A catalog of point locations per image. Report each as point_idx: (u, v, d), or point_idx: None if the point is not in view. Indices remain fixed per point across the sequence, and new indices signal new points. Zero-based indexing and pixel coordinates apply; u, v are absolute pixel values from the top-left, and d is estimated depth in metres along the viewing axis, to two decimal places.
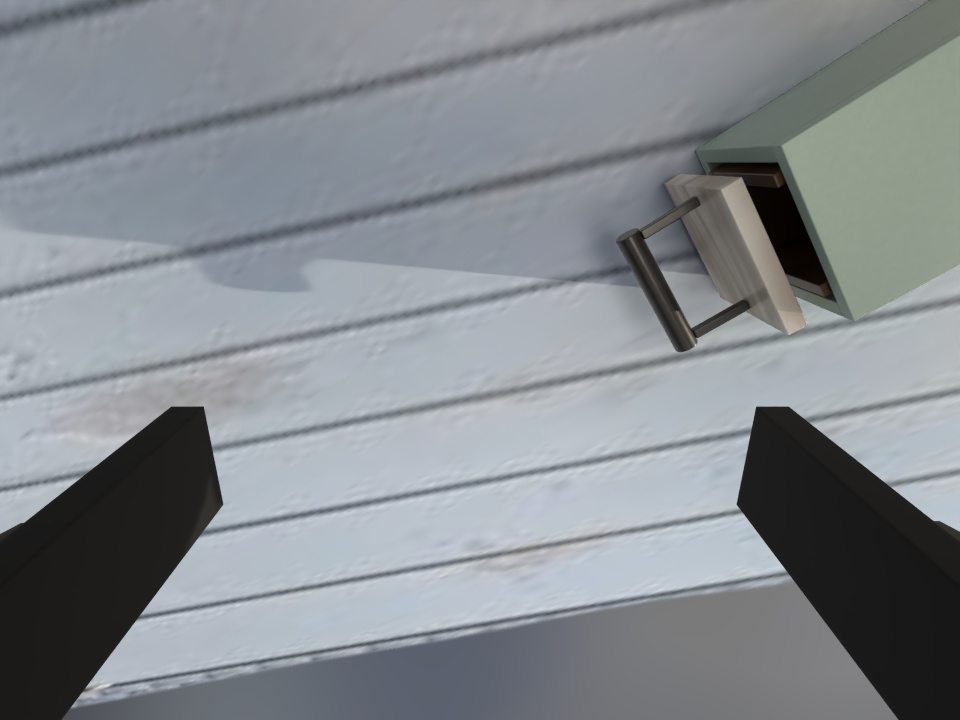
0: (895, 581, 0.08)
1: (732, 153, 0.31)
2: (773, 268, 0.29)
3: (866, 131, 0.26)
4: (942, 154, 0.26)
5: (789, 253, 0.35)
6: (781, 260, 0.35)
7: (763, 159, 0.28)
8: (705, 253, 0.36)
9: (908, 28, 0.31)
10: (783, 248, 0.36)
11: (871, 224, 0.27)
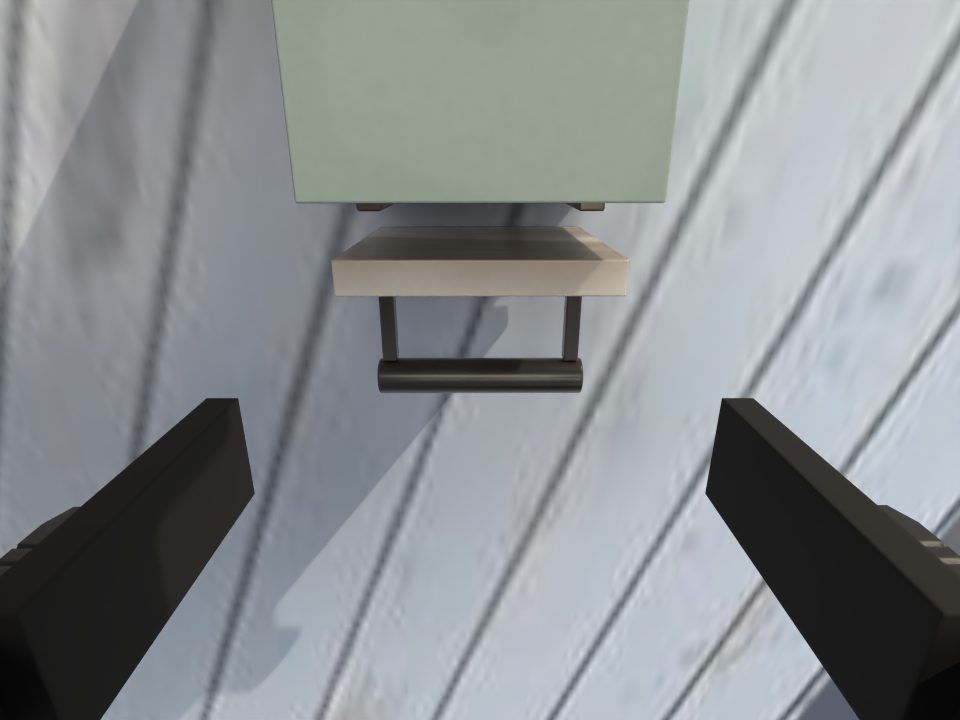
0: (837, 559, 0.09)
1: None
2: (499, 273, 0.17)
3: (341, 56, 0.14)
4: None
5: None
6: None
7: None
8: None
9: None
10: None
11: (508, 107, 0.14)
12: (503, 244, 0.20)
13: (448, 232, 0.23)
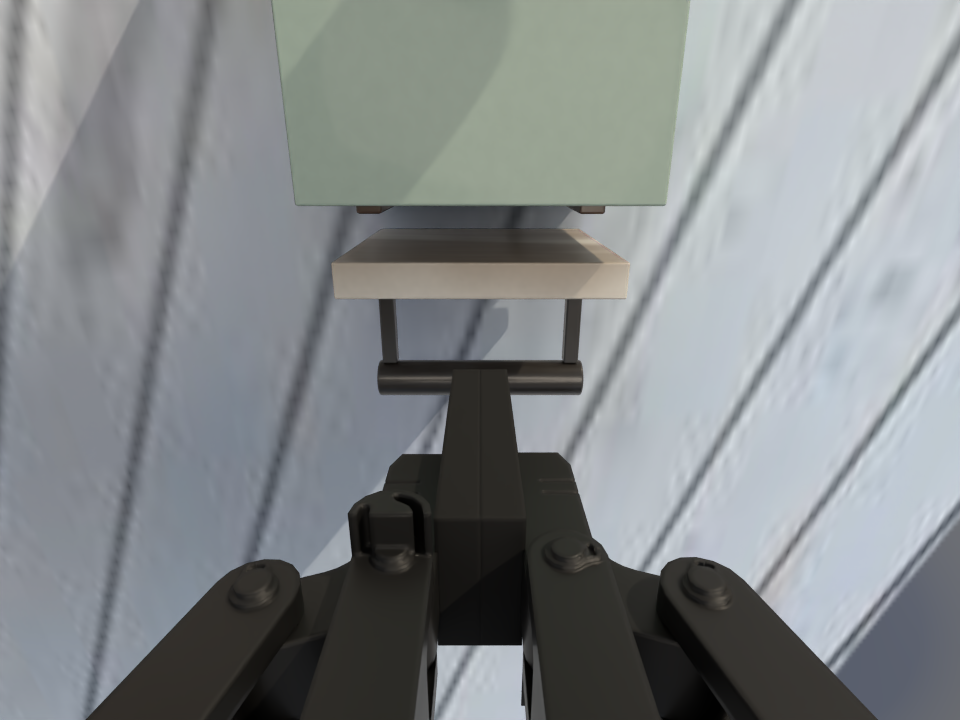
0: None
1: None
2: (500, 276, 0.17)
3: (341, 59, 0.14)
4: None
5: None
6: None
7: None
8: None
9: None
10: None
11: (508, 110, 0.14)
12: (503, 246, 0.20)
13: (448, 234, 0.23)
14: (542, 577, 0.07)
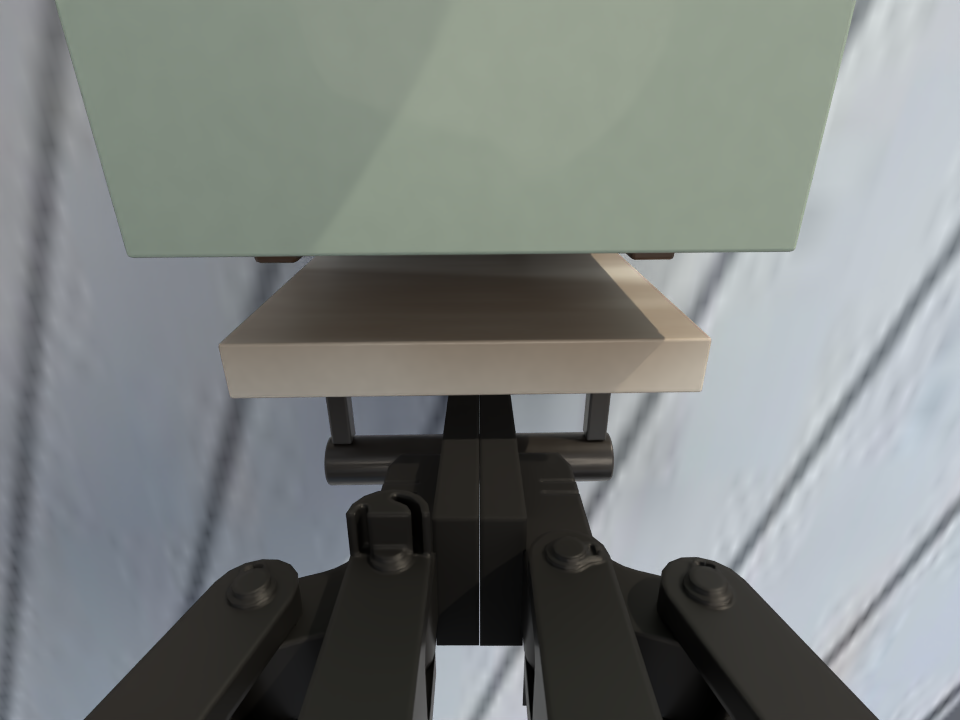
0: None
1: None
2: (499, 362, 0.10)
3: None
4: None
5: None
6: None
7: None
8: None
9: None
10: None
11: (516, 78, 0.07)
12: (502, 289, 0.13)
13: (422, 255, 0.17)
14: (544, 577, 0.07)
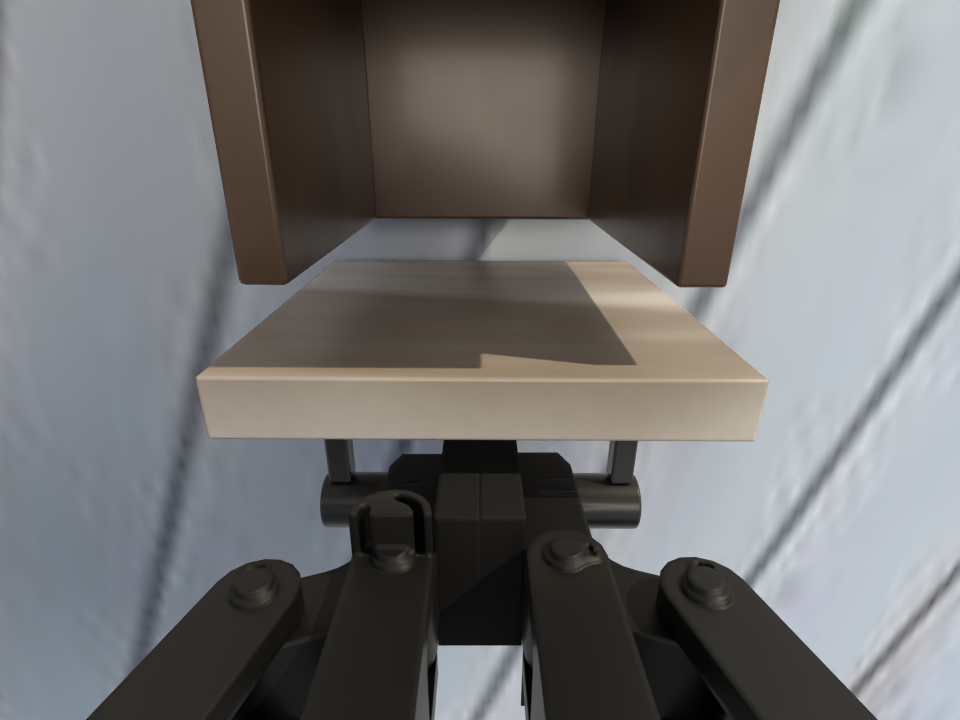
0: None
1: None
2: (519, 402, 0.09)
3: None
4: None
5: (606, 164, 0.13)
6: (606, 197, 0.13)
7: None
8: None
9: None
10: (596, 150, 0.14)
11: None
12: (521, 316, 0.12)
13: (433, 276, 0.15)
14: (542, 577, 0.07)
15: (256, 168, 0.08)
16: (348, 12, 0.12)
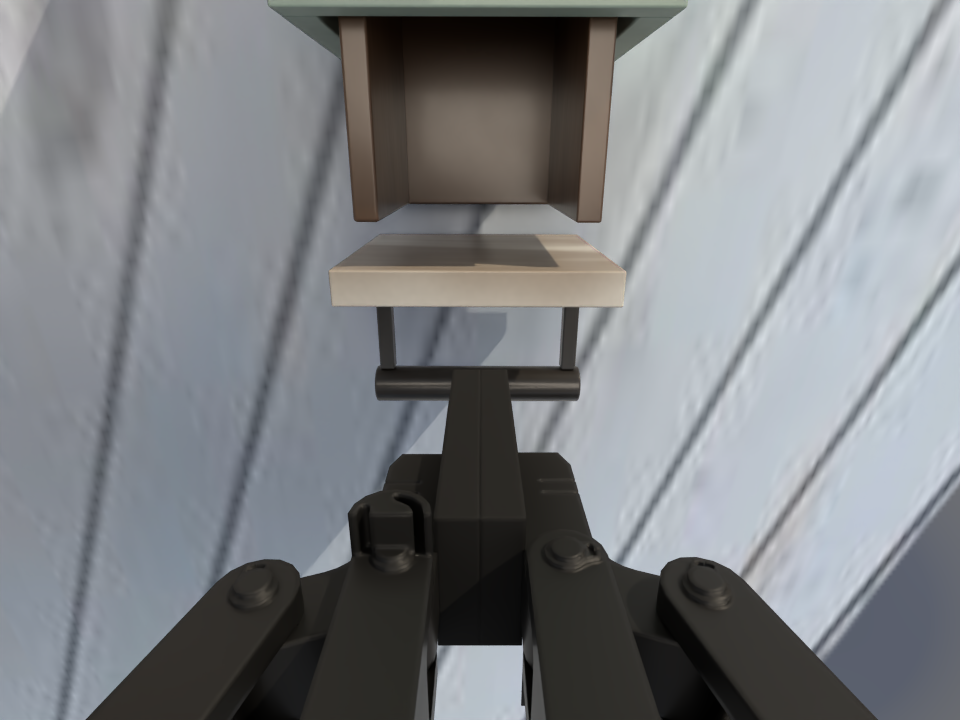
0: None
1: (337, 50, 0.19)
2: (496, 284, 0.17)
3: None
4: None
5: (554, 166, 0.22)
6: (554, 187, 0.21)
7: (322, 27, 0.16)
8: None
9: None
10: (550, 159, 0.23)
11: None
12: (501, 253, 0.20)
13: (446, 240, 0.23)
14: (542, 577, 0.07)
15: (367, 162, 0.16)
16: (398, 77, 0.21)
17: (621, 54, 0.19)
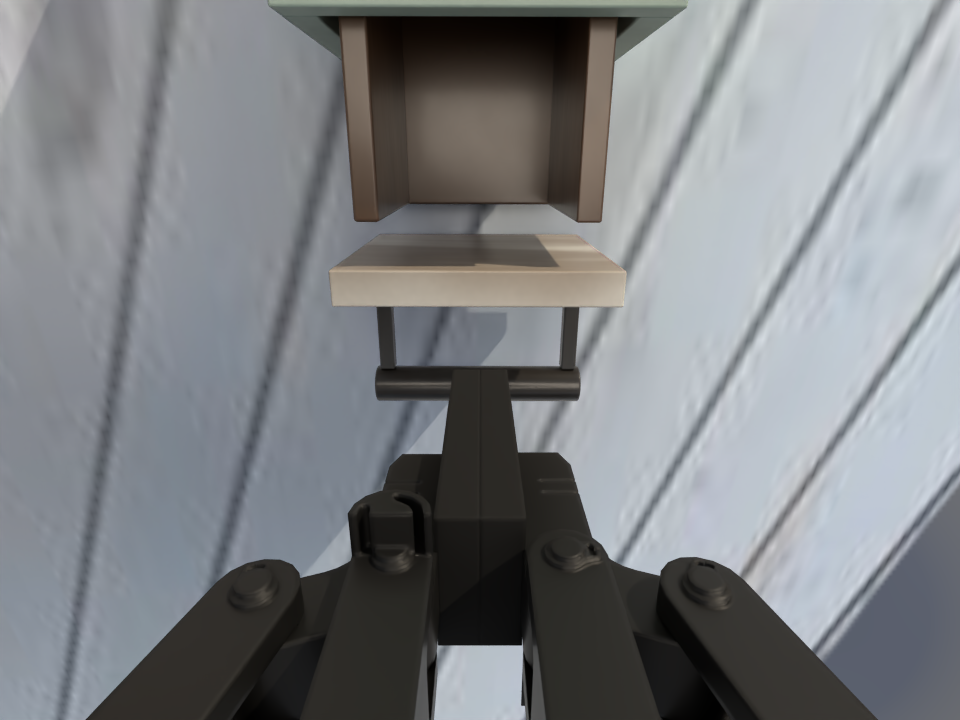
0: None
1: (337, 50, 0.19)
2: (497, 284, 0.17)
3: None
4: None
5: (554, 166, 0.22)
6: (554, 187, 0.21)
7: (322, 27, 0.16)
8: None
9: None
10: (550, 159, 0.23)
11: None
12: (501, 253, 0.20)
13: (446, 240, 0.23)
14: (542, 577, 0.07)
15: (367, 162, 0.16)
16: (398, 77, 0.21)
17: (621, 54, 0.19)
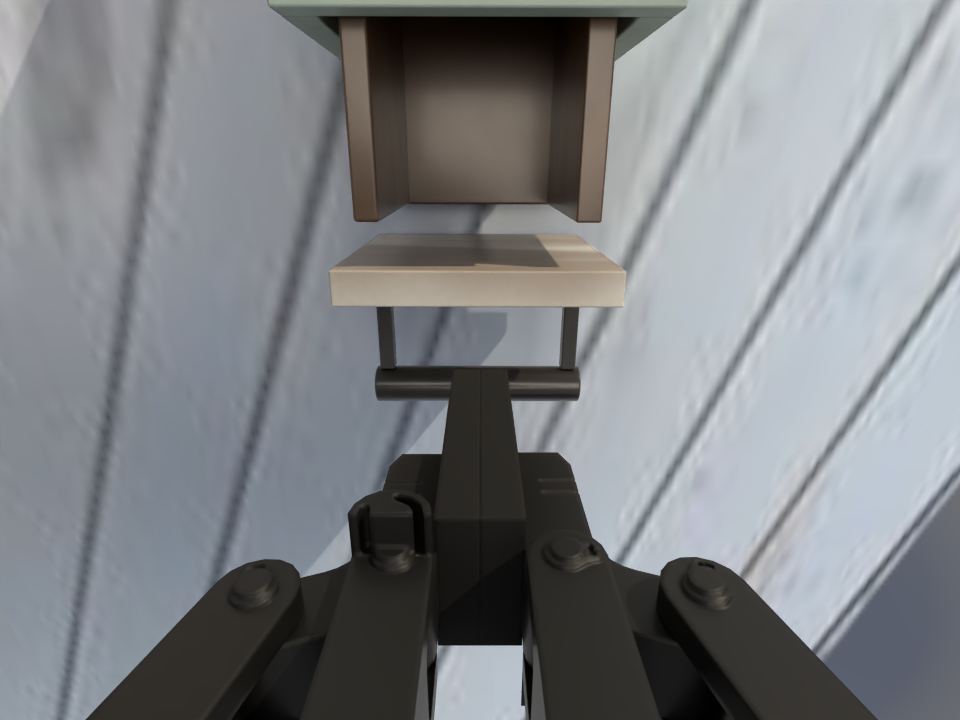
0: None
1: (337, 50, 0.19)
2: (497, 284, 0.17)
3: None
4: None
5: (554, 166, 0.22)
6: (554, 187, 0.21)
7: (322, 27, 0.16)
8: None
9: None
10: (550, 159, 0.23)
11: None
12: (501, 253, 0.20)
13: (446, 240, 0.23)
14: (542, 577, 0.07)
15: (367, 162, 0.16)
16: (398, 77, 0.21)
17: (621, 54, 0.19)
